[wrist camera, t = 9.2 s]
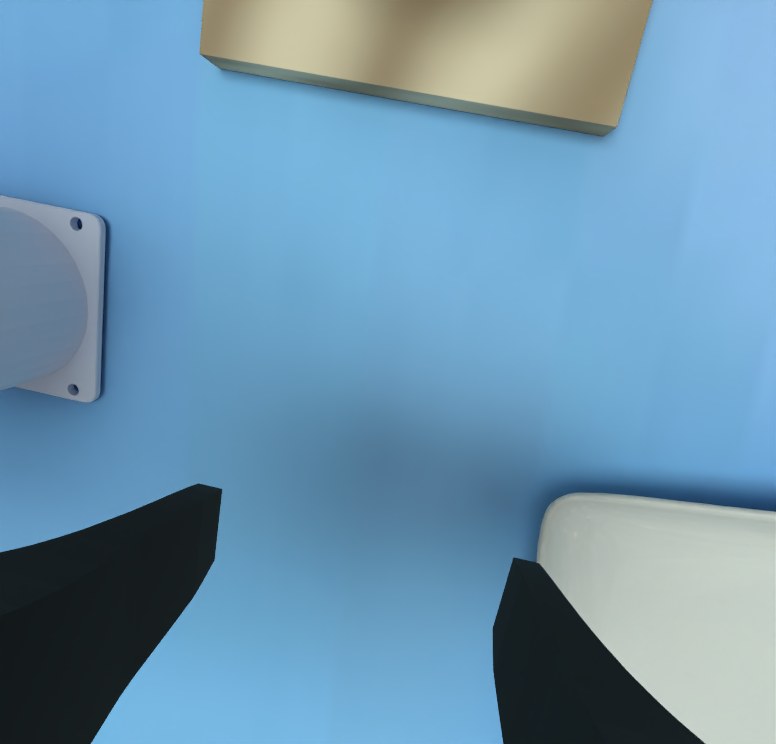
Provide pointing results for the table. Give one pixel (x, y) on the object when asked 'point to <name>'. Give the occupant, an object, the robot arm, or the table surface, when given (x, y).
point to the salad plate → (676, 602)
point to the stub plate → (444, 52)
